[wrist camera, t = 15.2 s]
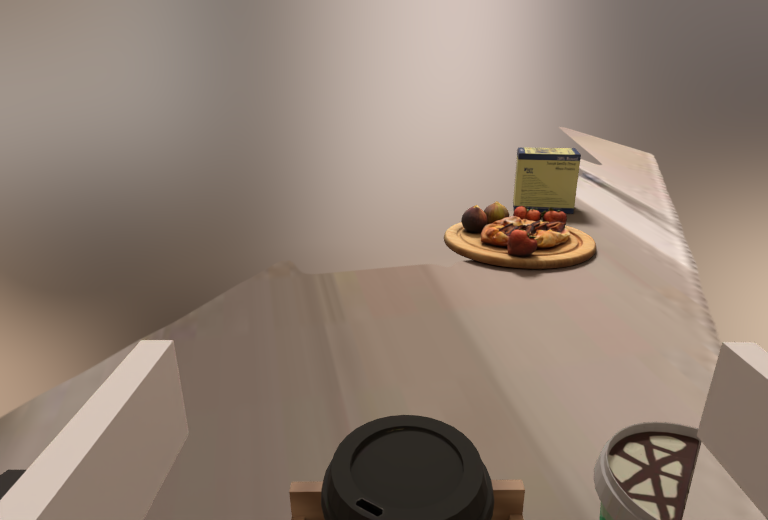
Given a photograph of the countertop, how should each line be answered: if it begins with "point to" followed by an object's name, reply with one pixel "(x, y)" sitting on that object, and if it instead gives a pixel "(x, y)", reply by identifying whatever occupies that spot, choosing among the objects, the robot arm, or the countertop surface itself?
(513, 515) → the wooden frame with crossbars
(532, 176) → the protein box
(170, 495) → the countertop surface
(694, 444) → the food container
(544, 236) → the wooden plate with food
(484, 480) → the coffee cup
